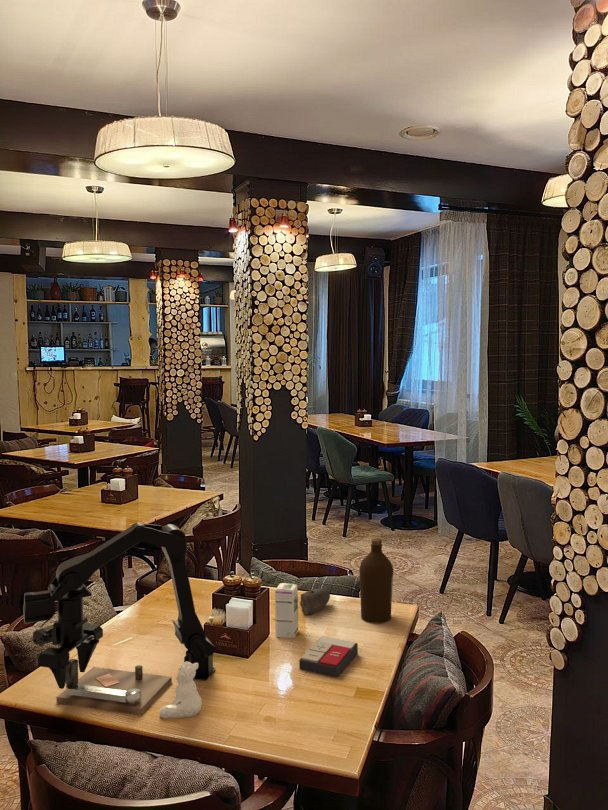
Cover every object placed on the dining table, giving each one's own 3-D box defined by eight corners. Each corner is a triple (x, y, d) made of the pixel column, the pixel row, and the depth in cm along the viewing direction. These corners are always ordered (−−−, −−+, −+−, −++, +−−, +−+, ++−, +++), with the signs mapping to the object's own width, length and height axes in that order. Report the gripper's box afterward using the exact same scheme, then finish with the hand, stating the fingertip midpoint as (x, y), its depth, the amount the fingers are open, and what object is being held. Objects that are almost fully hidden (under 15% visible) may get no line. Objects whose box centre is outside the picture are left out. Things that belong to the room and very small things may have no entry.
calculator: (298, 657, 175) (321, 633, 188) (298, 672, 175) (321, 648, 189) (337, 665, 170) (358, 640, 184) (337, 681, 171) (358, 655, 184)
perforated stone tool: (323, 601, 225) (323, 581, 224) (336, 605, 221) (336, 584, 221) (295, 615, 213) (294, 593, 213) (307, 619, 210) (307, 597, 209)
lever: (144, 697, 156) (143, 666, 156) (136, 705, 153) (136, 673, 152) (71, 688, 161) (70, 657, 160) (62, 695, 157) (62, 664, 157)
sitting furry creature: (180, 698, 160) (179, 649, 159) (211, 705, 157) (211, 655, 156) (157, 717, 151) (156, 666, 151) (189, 725, 148) (189, 673, 147)
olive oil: (365, 625, 204) (365, 545, 203) (354, 613, 214) (355, 536, 213) (397, 622, 206) (398, 543, 205) (386, 610, 217) (386, 534, 215)
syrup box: (294, 638, 195) (294, 590, 194) (274, 637, 196) (274, 588, 195) (298, 631, 200) (298, 583, 199) (279, 629, 201) (279, 582, 200)
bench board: (171, 682, 168) (171, 665, 168) (141, 715, 152) (140, 696, 152) (93, 672, 173) (93, 655, 173) (56, 703, 158) (56, 684, 158)
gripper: (64, 599, 169) (65, 659, 170) (15, 627, 151) (17, 694, 152) (103, 603, 166) (104, 664, 167) (58, 632, 148) (60, 700, 149)
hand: (72, 680), depth 159 cm, fingers open, 8 cm apart
